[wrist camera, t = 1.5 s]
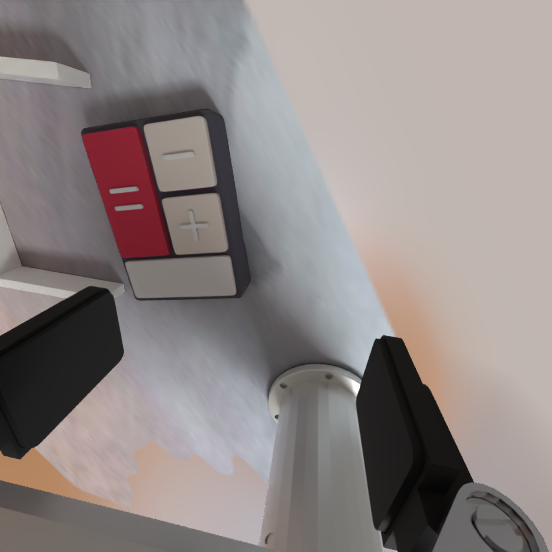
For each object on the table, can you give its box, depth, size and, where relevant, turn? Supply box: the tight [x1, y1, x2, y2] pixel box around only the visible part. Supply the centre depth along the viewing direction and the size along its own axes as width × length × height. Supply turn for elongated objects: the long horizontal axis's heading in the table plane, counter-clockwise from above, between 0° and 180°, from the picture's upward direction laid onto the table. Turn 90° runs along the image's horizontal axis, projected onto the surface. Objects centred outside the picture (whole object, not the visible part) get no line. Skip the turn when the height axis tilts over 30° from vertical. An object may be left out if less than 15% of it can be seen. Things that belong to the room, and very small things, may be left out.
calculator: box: [81, 109, 251, 301], centre depth 24 cm, size 11×4×15 cm
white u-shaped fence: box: [0, 57, 125, 299], centre depth 25 cm, size 20×14×3 cm
